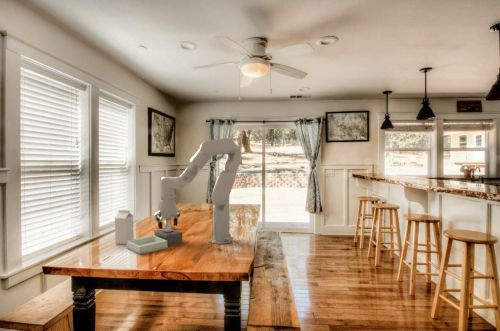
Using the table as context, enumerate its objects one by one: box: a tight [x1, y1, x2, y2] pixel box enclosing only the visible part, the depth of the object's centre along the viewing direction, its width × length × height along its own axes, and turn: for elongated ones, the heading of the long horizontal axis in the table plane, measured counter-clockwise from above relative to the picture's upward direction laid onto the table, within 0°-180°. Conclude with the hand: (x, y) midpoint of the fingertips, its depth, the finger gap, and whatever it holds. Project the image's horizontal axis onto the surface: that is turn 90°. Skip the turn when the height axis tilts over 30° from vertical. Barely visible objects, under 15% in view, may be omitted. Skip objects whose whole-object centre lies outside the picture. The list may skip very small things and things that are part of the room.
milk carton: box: [114, 209, 135, 245], centre depth 166 cm, size 7×7×19 cm
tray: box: [126, 235, 168, 256], centre depth 155 cm, size 16×16×4 cm
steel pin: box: [164, 217, 172, 233], centre depth 166 cm, size 4×4×16 cm
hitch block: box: [153, 228, 183, 247], centre depth 166 cm, size 14×10×6 cm
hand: (168, 226), depth 166 cm, fingers open, 9 cm apart
